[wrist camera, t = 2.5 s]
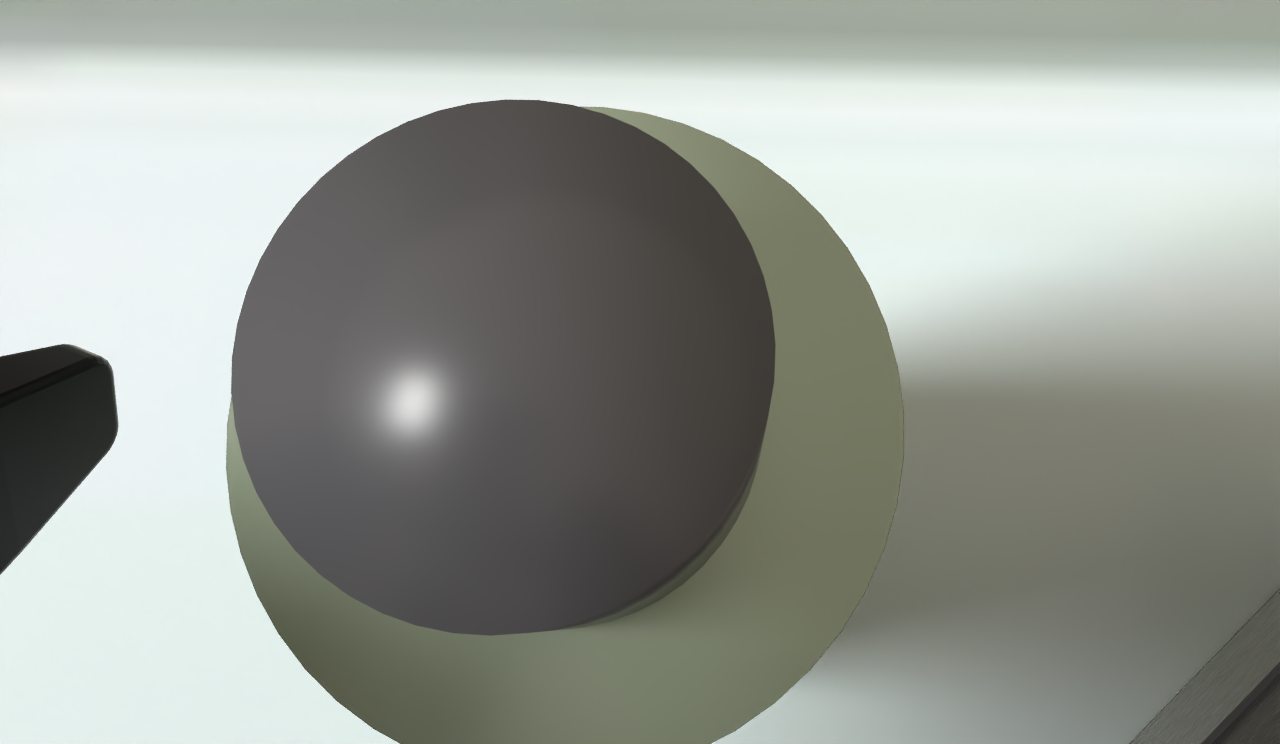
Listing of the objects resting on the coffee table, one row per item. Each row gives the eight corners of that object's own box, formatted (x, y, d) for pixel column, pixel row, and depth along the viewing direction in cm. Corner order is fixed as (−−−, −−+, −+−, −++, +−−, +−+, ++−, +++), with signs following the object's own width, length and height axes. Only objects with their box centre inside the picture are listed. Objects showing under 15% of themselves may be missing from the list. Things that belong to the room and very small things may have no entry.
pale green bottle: (737, 730, 17) (767, 1030, 5) (464, 612, 18) (-106, 607, 6) (842, 449, 18) (1089, 98, 6) (577, 348, 19) (300, -149, 6)
